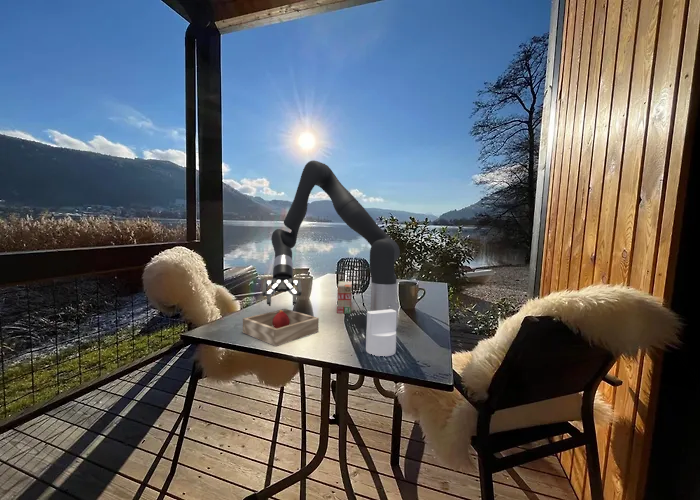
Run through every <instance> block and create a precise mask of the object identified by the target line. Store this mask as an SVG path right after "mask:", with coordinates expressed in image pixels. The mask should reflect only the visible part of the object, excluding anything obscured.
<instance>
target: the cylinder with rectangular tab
mask: <svg viewBox="0 0 700 500" xmlns="http://www.w3.org/2000/svg"><path fill="white" fill-rule="evenodd" d="M365 332H366V334H365V337H366V338H365V351H366V353H367V354H369V355H371V354H372V356H374V355H375V356H376V357H380V356H383V357H384V356H385V357H390V356H393V355H395V354H396V351H397V329H396V311H395V310H393V309H388V310H377V311H371V310H370V311H369V310H368V311H366V331H365ZM375 356H374V357H375Z"/></svg>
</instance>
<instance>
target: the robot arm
mask: <svg viewBox="0 0 700 500" xmlns="http://www.w3.org/2000/svg"><path fill="white" fill-rule="evenodd" d="M315 186H316V187H318V188H320V189H321V190H323V192H324V193H326V195H327V196H328V197H329V199H330V200H331V203H332V205H333V208H334V211H335V212H336V213H337V216H338V217H340V219H341V220H343V223H345V225H347V226H348V227H349V228H350V229H351V230H353V231H354V232H356V233H357V234H358V235H359V236H360V237H362V238H363V239H364V240H366V242H367V243H368V244H369V245H370V250H369V274H370V280H371V281H370V282H371V284H370V285H371V286H370V311H377V310H388V309H393V310H395V311H396V330H397V329H398V318H399V317H398V316H399V315H398V314H399V313H398V312H399V304H398V303H397V282H398V281H397V279H398V278H397V275H396V273H395V262H396V261H397V260H398V258H399V257H400V252H401V250H400V246H399V244H397V242H396V241H395V240H394V239H393V238H392V237H390V236H389V235H388V234H387V233H386V232H385V231H384V230H383V229H382V228H381V227H380V226H379V225H378V224H377V222H376V221H375V220H374V218H373V217H372V216H371V215H370V213H368V212H367V210H366V209H365V207H364V206H363V205H362V204H361V203H360V202H359V200H358V199H356V198H355V196H353V194H352V193H351V192H350V191H349V190H348V189H347V188H346V187H345V186H344V185H343V184H342V183H341V181H339V179H338V177H337V176H336V174H335V173H334V172H333V170H332V169H331V168H330V166H329V165H327V164H326V163H324V162H320V161H317V160H310V161H308V162H306V164H305V165H304V167H303V169H302V173H301V176H300V179H299V182H298V184H297V188H296V192H295V195H294V198H293V201H292V203H291V204H290V205H291V206H290V207H289V209H288V212H287V213H286V216H285V218H284V220H283V224H284V226H285V227H287V228H288V229H289V230H291V231H286V230H285V229H282V228H277V229H275V230H274V231H273V232H272V234H271V244H272V247H273V251H274V260H273V264H272V265H273V267H272V279H271V280H268V279H265V278H264V279H263V284H262V288H261V289H262V292H261V293H262V296H263V297H266V305H268V307H271V305H272V304H271V303H272V296H273V295H275V294H276V292H278V293H281V292H283V293H286V292H288V293H289V294H291V296H292V306H295V305H296V304H297V301H298V300H297V298H298V296H302V280H301V279H300V278H299V279H297V280H294V279H293V271H294V268H293V266H294V265H293V250H292V249H293V248H294V247H295V246H296V244H297V238H298V233H299V230H300V228H301V225H302V223H303V221H304V219H305V217H306V216H307V212H308V203H309V199H310V195H311V193H312V191H313V190H314V187H315ZM270 285H271V287H270ZM294 285H295V287H297V290H296V289H295V288H294V287H293V286H294ZM269 287H270V289H269V290H267V289H268V288H269Z"/></svg>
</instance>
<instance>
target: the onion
mask: <svg viewBox="0 0 700 500" xmlns="http://www.w3.org/2000/svg"><path fill="white" fill-rule="evenodd" d="M278 310H279V313H277V314H276V315H275V316H274V318H273V321H272V323H273V326H272V327H274V328H280V327H284V326H287V325H290V324H289V323H290V320H289V317H288V315H287V314H286V313H284V312H283V311H282V309H278Z"/></svg>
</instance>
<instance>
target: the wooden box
mask: <svg viewBox="0 0 700 500" xmlns="http://www.w3.org/2000/svg"><path fill="white" fill-rule="evenodd" d="M279 310H280V309H277V310H273V311H270V312H265V313H261V314H256V315H252V316H248V317H243V318H242V333H243V334H246V335H247V336H250V337H253V338H254V339H258V340H260V341H262V342H265V343H267V344H270V345H272V346H274V347H278V346H281V345H285V344H286V343H289V342H293V341H296V340H299V339H301V338H304V337H307V336H310V335H313V334H315V333H319V323H320V322H319V321H320V320H319V319H320V318H319V317H317V316H313V315H310V314H306V313H303V312H298V311H295V310H291V309H288V308H282V309H281V310H282V311H283V312H284V313H286V314H287V315H288V317H289V320H290V323H289V325H287V326H284V327H280V328H274V326H273V323H272V321H273V318H274V316H275V315H276V314H277V313H279Z"/></svg>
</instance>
